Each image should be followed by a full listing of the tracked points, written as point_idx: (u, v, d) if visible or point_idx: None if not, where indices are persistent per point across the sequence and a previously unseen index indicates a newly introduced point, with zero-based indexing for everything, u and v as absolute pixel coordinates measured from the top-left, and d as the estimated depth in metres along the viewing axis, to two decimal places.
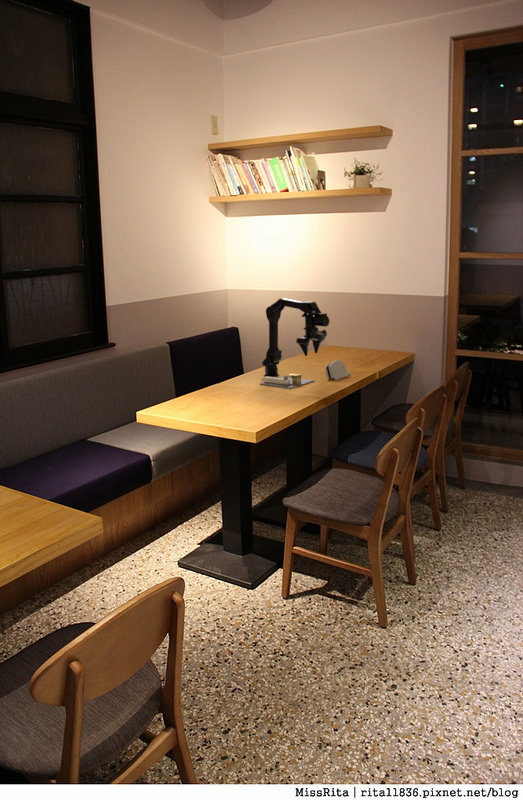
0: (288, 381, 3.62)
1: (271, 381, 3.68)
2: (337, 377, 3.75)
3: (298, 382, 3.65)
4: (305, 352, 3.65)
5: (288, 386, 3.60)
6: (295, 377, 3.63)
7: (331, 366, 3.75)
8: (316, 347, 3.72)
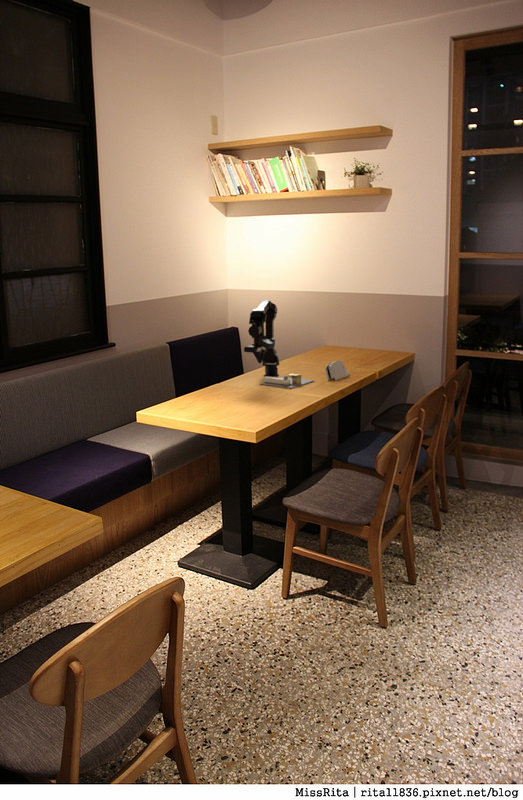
0: (288, 381, 3.62)
1: (271, 381, 3.68)
2: (337, 377, 3.74)
3: (298, 382, 3.65)
4: (258, 359, 3.64)
5: (288, 386, 3.60)
6: (295, 377, 3.63)
7: (331, 366, 3.74)
8: None
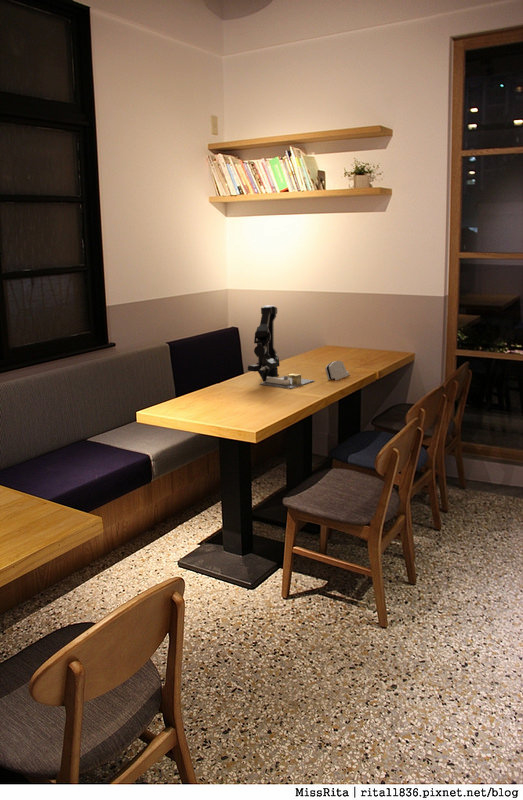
0: (288, 381, 3.62)
1: (271, 381, 3.68)
2: (337, 377, 3.74)
3: (298, 382, 3.65)
4: (263, 378, 3.69)
5: (288, 386, 3.60)
6: (295, 377, 3.63)
7: (331, 366, 3.74)
8: None
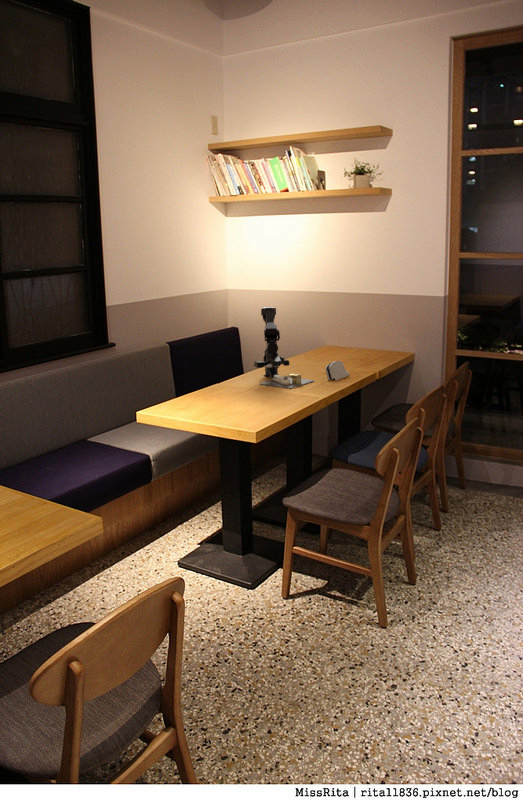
0: (286, 381, 3.62)
1: (276, 380, 3.71)
2: (337, 377, 3.74)
3: (298, 382, 3.65)
4: (270, 375, 3.73)
5: (288, 386, 3.60)
6: (295, 377, 3.63)
7: (331, 366, 3.74)
8: None
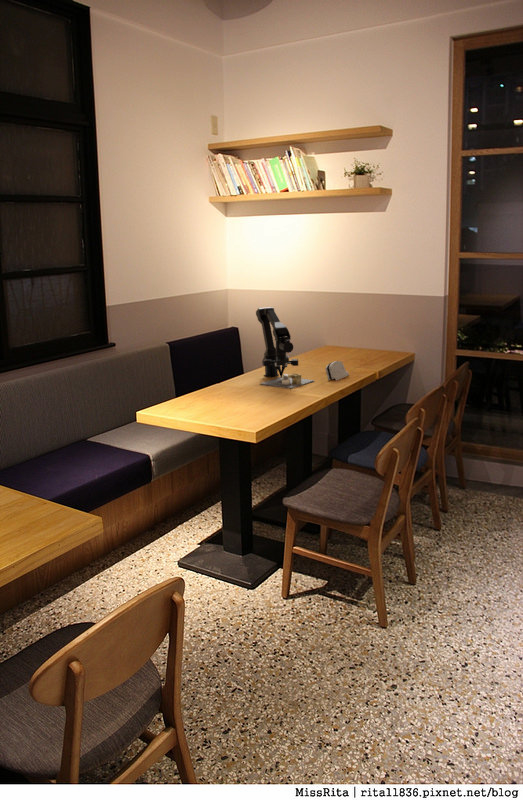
0: (285, 381, 3.62)
1: None
2: (337, 377, 3.74)
3: (298, 382, 3.65)
4: None
5: (288, 386, 3.60)
6: (295, 377, 3.63)
7: (331, 366, 3.73)
8: None
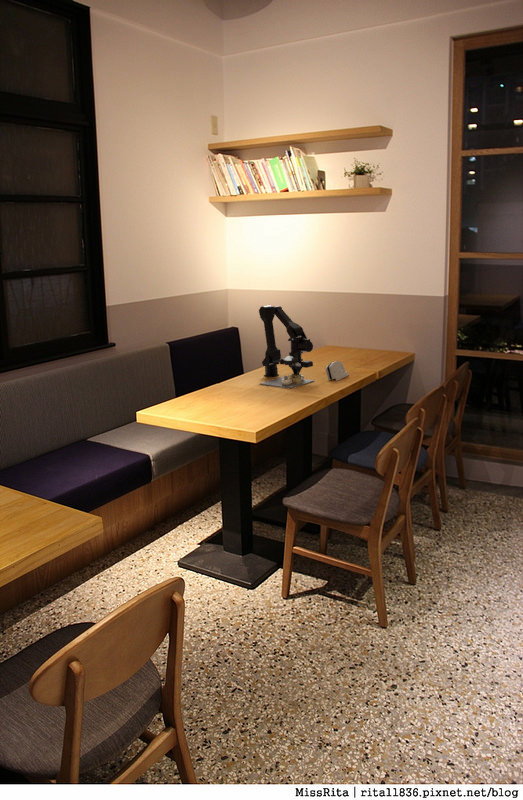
0: (282, 381, 3.63)
1: None
2: (338, 377, 3.73)
3: (298, 382, 3.65)
4: None
5: (288, 386, 3.60)
6: (295, 377, 3.63)
7: (332, 367, 3.73)
8: None
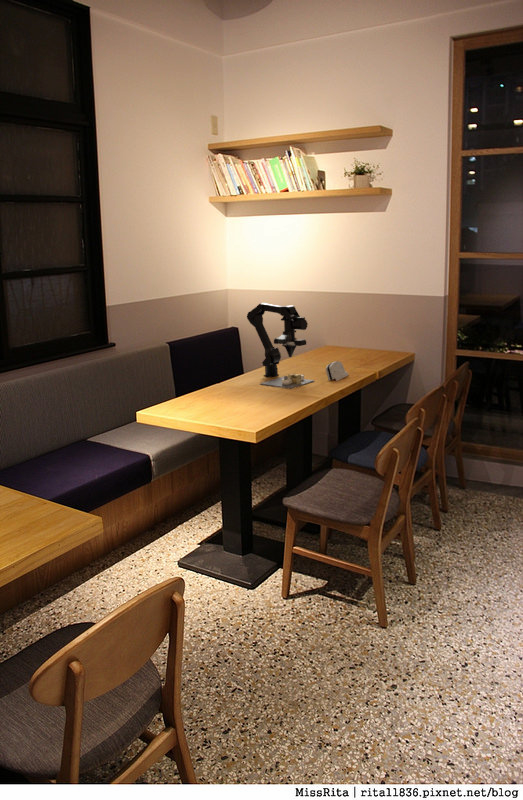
0: (282, 381, 3.63)
1: None
2: (338, 377, 3.73)
3: (298, 382, 3.65)
4: None
5: (288, 386, 3.60)
6: (295, 377, 3.63)
7: (332, 367, 3.73)
8: None
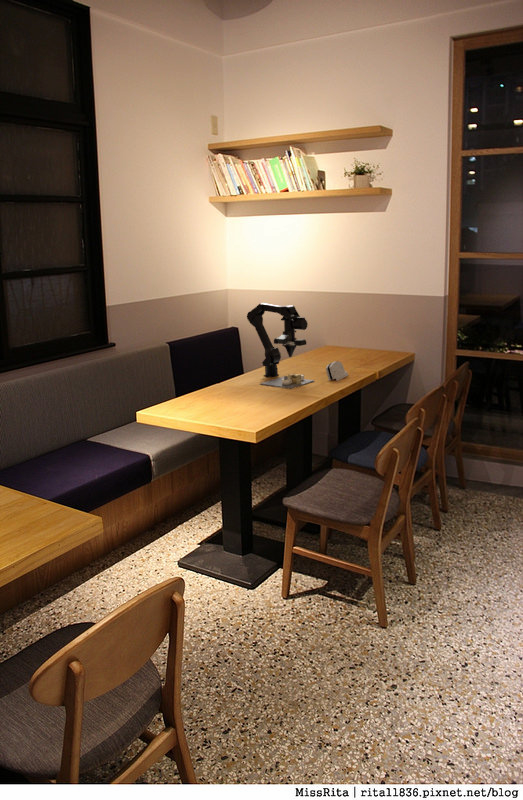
0: (282, 381, 3.63)
1: None
2: (338, 378, 3.73)
3: (298, 382, 3.65)
4: None
5: (288, 386, 3.60)
6: (295, 377, 3.63)
7: (332, 367, 3.73)
8: None
